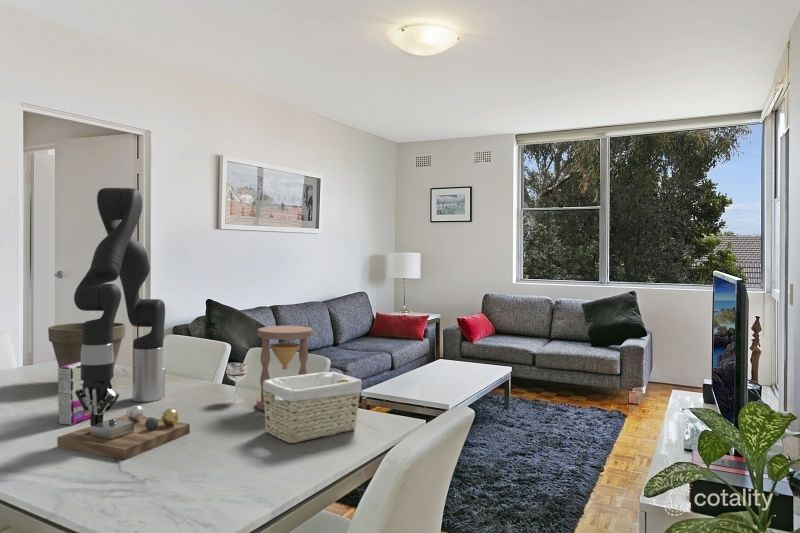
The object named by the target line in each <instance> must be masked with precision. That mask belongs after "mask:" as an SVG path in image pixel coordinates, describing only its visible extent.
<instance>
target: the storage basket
mask: <svg viewBox="0 0 800 533" xmlns="http://www.w3.org/2000/svg"><path fill="white" fill-rule="evenodd" d="M362 382H363V381H362V379H360V378H356V377H353V376H349V375H347V374H343V373H340V372H335V371H331V372H330V371H326V372H324V371H322V372H315V373H308V374H305V375H299V374H297V375H290V376H283V377H275V378H270V379H269V380H265V381H264V382H263V390H264V391H263V395H264V405H265V406H264V408H265V411H264V422H265V423H264V425H265V426H264V428H265V432H266V433H268V434H270V435H272V436H273V437H276V438H277V439H279V440H282V441H283V442H287V443H288V444H296V443H300V442H303V441H308V440H309V441H310V440H314V439H316V438H321V437H330V436H334V435H337V434H340V433H346V432H349V431H355V429H356V424H357V418H358V414H359V413H358V409H359V404H360V402H359V401H360V395H361V392H362Z"/></svg>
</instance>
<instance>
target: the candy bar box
mask: <svg viewBox="0 0 800 533" xmlns="http://www.w3.org/2000/svg"><path fill="white" fill-rule="evenodd" d="M57 381H58V382H57V383H58V384H57V388H58V390H57V391H58V400H57V402H58V424H59V425H62V424H65V425H66V426H75V425H76V424H77V425H78V424H79V423H82V422H84V421H87V420H90V414H89V411H85V410H84V409H83V407H82V405H81V403H80V401H79V399H78V397H77V395H76V393H75V392H76V391H77V390H80V389H81V388H82V385H83V382H84V381H82V380H81V362H77V363H73V364H69V365H66V366H62V367H59V366H58V368H57ZM92 401H93V400H92ZM86 404H87V402H86ZM65 425H64V426H65Z"/></svg>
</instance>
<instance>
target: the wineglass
mask: <svg viewBox="0 0 800 533" xmlns="http://www.w3.org/2000/svg"><path fill="white" fill-rule="evenodd" d="M226 367H227V368H226V375H227V378H229V379H230V380H232V381H234V383H235V398H234V399H230V400H228V403H230V404H240V403H243V402H245V400H244V399H241V398H238V392H239V391H238V389H239V387H238V386H239V383H240V381H242V380H243V379H245V377H246V376H247V375H248V369H247V367H248V364H247V363H241V362H237V363H235V362H234V363H229V364H226Z"/></svg>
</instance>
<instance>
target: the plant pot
mask: <svg viewBox="0 0 800 533" xmlns="http://www.w3.org/2000/svg"><path fill="white" fill-rule="evenodd" d="M84 323H85V322H74V323H63V324H55V325H51V326H49V327H48V328H47V331H48V341H49V342H51V345H52V347H53V351H54V354H55V358H56V362H57V366H58V367H62V366H66V365H69V364H73V363H77V362H81V349H82V327H83V324H84ZM125 336H126V324H125V323H123V322H114V326H113V349H114V368H116V367H115V365H116V362H117V359H118V355H119V351H120V347H121V345H122V341H123V339H124V338H125Z"/></svg>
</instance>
